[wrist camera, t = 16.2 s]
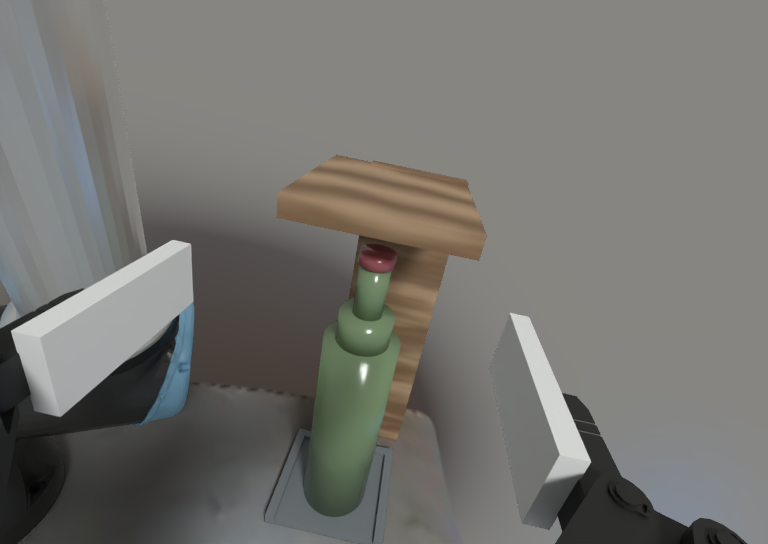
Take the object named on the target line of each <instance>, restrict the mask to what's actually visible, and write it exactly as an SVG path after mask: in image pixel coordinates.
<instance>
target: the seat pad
mask: <svg viewBox="0 0 768 544" xmlns="http://www.w3.org/2000/svg"><path fill="white" fill-rule="evenodd" d="M310 433H311V431H310V430H305V429H301V428H299V431H298V434H297V436H296V439H295V441H294V444H293V446H292V449H291V451H290V454H289V456H288V459H287V461H286V464H285V466H284V469H283V471H282V474H281V476H280V479H279V481H278V484H277V486H276V489H275V491H274V494H273V496H272V499H271V501H270V504H269V506H268V509H267V511H266V514H265V519H264V521H265V522H269V523H273V524H277V525H282V526H286V527H290V528H294V529H299V530H303V531H307V532H311V533H316V534H320V535H324V536H329V537H333V538H337V539H341V540H346V541H350V542H354V543H358V544H383V537H384V528H385V519H386V510H387V501H388V492H389V483H390V474H391V465H392V456H393V449H389V448H384V447H380V446H376V449H375V453H374V457H373V461H372V465H371V469H370V473H369V477H368V481H367V485H366V490H365V494H364V497H363V500H362V502H361V503H360V505H359V506H358V507H357V508H356V509H355V510H354V511H352V512H351V513H349V514H347V515H345V516H341V517H328V516H324V515H322V514H320V513H318V512H316V511H315V510H314V509H313V508H312V507H311V506H310V505H309V504H308V502H307V500H306V498H305V495H304V478H305V471H306V463H307V456H308V448H309V441H310Z"/></svg>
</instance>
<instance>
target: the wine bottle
mask: <svg viewBox="0 0 768 544" xmlns="http://www.w3.org/2000/svg"><path fill="white" fill-rule="evenodd" d="M396 259H397V252H396V251H395V250H393V249H392V248H390V247H387V246H384V245H380V244H365V245H363V246H361V248H360V253H359V259H358V264H359V265H360V267H359V273H358V279H357V285H356V291H355V297H354V298H352V299H349V300H346V301H345V302H343V303H342V304H341V305H340V307H339V313H338V320H336V321H334V322H332V323H331V324H329V325H328V326H327V328H326V329H325V331H324V334H323V343H322V350H321V357H320V365H319V373H318V380H317V388H316V395H315V403H314V410H313V418H312V425H311V433H310V441H309V448H308V456H307V463H306V471H305V478H304V495H305V498H306V500H307V502H308V504H309V505H310V506H311V507H312V508H313V509H314V510H315V511H316V512H318V513H320V514H322V515H324V516H328V517H341V516H345V515H347V514H349V513H351V512H352V511H354V510H355V509H356V508H357V507H358V506H359V505H360V503H361V502H362V500H363V497H364V494H365V490H366V485H367V481H368V477H369V473H370V469H371V465H372V461H373V457H374V453H375V449H376V445H377V441H378V437H379V433H380V428H381V424H382V420H383V416H384V412H385V408H386V404H387V400H388V396H389V392H390V388H391V384H392V380H393V376H394V371H395V367H396V363H397V359H398V355H399V351H400V340H399V338H398V336H397V334H396V333H395V332H394V331H393V326H394V321H395V314H394V312H393V310H392V309H391V308H390V307H389V306H387V305H386V304H385V300H386V296H387V291H388V286H389V281H390V277H391V272H392V271H393V270H394V269H395V264H396Z"/></svg>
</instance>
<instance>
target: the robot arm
mask: <svg viewBox="0 0 768 544" xmlns="http://www.w3.org/2000/svg"><path fill="white" fill-rule="evenodd" d="M191 258H192V257H191V244H189V243H184V242H180V241H175V240H172V241H170V242H169V243H167V244H165V245H163V246H161V247H159V248H158V249H156V250H154V251H153V252H151V253H149V254H147V249H146V243H145V238H144V231H143V225H142V219H141V213H140V208H139V201H138V195H137V189H136V183H135V178H134V171H133V165H132V160H131V154H130V147H129V141H128V135H127V129H126V123H125V117H124V112H123V105H122V99H121V93H120V87H119V81H118V75H117V69H116V63H115V57H114V51H113V44H112V39H111V33H110V27H109V20H108V15H107V8H106V2H105V0H0V280H1V281H2V283H3V285H4V287H5V289H6V291H7V293H8V295H9V297H10V299H11V301H10V303H9V304H8V305H0V544H16V543H17V542H19V541H20V540H21V539H22V538H23V537H25V536H26V535H27V534H28V533H29V532H30V531H31V530H32V529H33V528H34V527H35V526H36V525H37V524H38V523H39V522H40V521H41V520H42V518H43V517H44V516H45V515H46V514H47V512H48V511H49V510H50V508H51V507H52V505H53V504H54V502H55V501H56V499H57V497H58V495H59V493H60V490H61V488H62V485H63V481H64V473H65V471H64V464H63V460H62V457H61V453H60V451H59V448H58V447H57V445H56V444H55V442H54V441H53V440H52V439H51V438H50V437H49V436H52V435H59V434H66V433H73V432H80V431H87V430H94V429H102V428H109V427H116V426H123V425H130V424H134V425H144V424H146V423H147V422H150V421H155V420H160V419H166V418H170V417H173V416H175V415H176V414H178V413H179V412H180V411H181V410H182V409H183V407H184V405H185V403H186V400H187V394H188V388H189V380H190V368H191V367H190V363H191V357H192V350H193V338H194V318H195V317H194V316H195V309H194V304H193V281H192V259H191ZM489 369H490V373H491V378H492V383H493V388H494V393H495V398H496V402H497V407H498V412H499V417H500V421H501V427H502V431H503V436H504V441H505V446H506V451H507V455H508V460H509V465H510V470H511V475H512V479H513V484H514V489H515V494H516V499H517V504H518V508H519V513H520V518H521V523H522V524H527V525H531V526H535V527H539V528H544V529H548V530H549V529H550V528H551V526H552V525H553V523H554V522H555V520H556V518H557V517H558V518H559V522H560V525H561V529H562V534H561V536H560V537H559V539H558V540H557V542H556V543H555V544H747V543H746V542H745V541H744V540H742V539H741V538H740V537H739V536H738V535H737V534H736V533H734V532H733V531H731V530H730V529H728V528H727V527H725V526H724V525H722V524H720V523H718V522H715V521H713V520H710V519H704V518H699V519H698V520H696V521H694V522H693V523H692V524H691V526H690V527H687V526H684V525H683V524H681V523H679V522H677V521H675V520H672V519H670V518H668V517H666V516H664V515H662V514H660V513H658V512H656V511H655V510H654V509H653V506H652V504H651V502H650V501H649V499H648V498H647V497H646V495H645V494H644V493H643V492H642V491H641V490H640V489H639V488H637V487H636V486H635V485H634V484H633V483H631V482H630V481H628V480H626V479H625V478H623V477H621V475H620V473H619V471H618V469H617V467H616V465H615V463H614V461H613V459H612V457H611V454H610V452H609V450H608V448H607V446H606V444H605V442H604V440H603V438H602V437H600V432H599V430H598V428H597V426H595V422H594V420H593V418H592V416H591V414H590V412H589V410H588V409H587V408H586V406H585V405H584V404H583V403H582V402H581V401H580V400H579V399H578V398H577V397H576V396H572V395H568V394H563V393H561V390H560V388H559V386H558V384H557V381H556V379H555V377H554V374H553V372H552V370H551V367H550V365H549V363H548V360H547V358H546V356H545V353H544V351H543V349H542V347H541V344H540V342H539V339H538V337H537V335H536V332H535V330H534V328H533V326H532V323H531V321H530V319H529V317H526V316H521V315H516V314H513V313H510V314H509V316H508V319H507V322H506V324H505V327H504V329H503V332H502V335H501V337H500V340H499V343H498V345H497V348H496V350H495V353H494V355H493V358H492V361H491V363H490V366H489Z"/></svg>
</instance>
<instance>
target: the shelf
mask: <svg viewBox="0 0 768 544" xmlns="http://www.w3.org/2000/svg"><path fill="white" fill-rule="evenodd" d="M277 218H282V219H286V220H290V221H295V222H300V223H305V224H309V225H314V226H318V227H323V228H328V229H333V230H337V231H342V232H347V233H352V234H356V235H359V240H358V246H357V252H356V258H355V264H354V270H353V276H352V283H351V289H350V295H349V299H352V298H354V297H355V291H356V285H357V279H358V273H359V267H360V265H359V264H358V259H359V253H360V248H361V246H363V245H365V244H380V245H384V246H387V247H390V248H392V249H393V250H395V251H396V252H397V259H396V264H395V269H394V270H393V271H392V272H391V277H390V281H389V286H388V291H387V296H386V300H385V304H386V305H387V306H389V307H390V308H391V309H392V310H393V312H394V314H395V321H394V326H393V331H394V332H395V333H396V334H397V336H398V338H399V340H400V351H399V355H398V359H397V363H396V367H395V371H394V376H393V380H392V384H391V388H390V392H389V396H388V400H387V404H386V408H385V412H384V416H383V420H382V424H381V428H380V433H379V436H380V437H384V438H389V439H393V440H397V438H398V435H399V431H400V428H401V424H402V421H403V417H404V413H405V410H406V406H407V403H408V399H409V395H410V392H411V388H412V385H413V381H414V377H415V374H416V370H417V366H418V363H419V360H420V356H421V352H422V348H423V345H424V341H425V338H426V334H427V331H428V327H429V324H430V320H431V316H432V313H433V309H434V306H435V302H436V298H437V295H438V291H439V288H440V284H441V281H442V277H443V273H444V269H445V265H446V263H447V258H448V255H449V254H450V255H455V256H460V257H464V258H469V259H473V260H478V261H479V259H480V256H481V252H482V250H483V246H484V243H485V240H486V237H487V235H486V232H485V230H484V227H483V224H482V222H481V219H480V217H479V214H478V212H477V209H476V206H475V204H474V201H473V198H472V196H471V193H470V191H469V188H468V182H467V180H464V179H459V178H454V177H450V176H445V175H440V174H435V173H430V172H426V171H421V170H416V169H411V168H406V167H401V166H396V165H392V164H387V163H382V162H377V161H373V162H367V161H363V160H358V159H353V158H349V157H344V156H338V155H336V156H334V157H332V158H331V159H329V160H328V161H326V162H325V163H323V164H321V165H320V166H318V167H317V168H315V169H313V170H312V171H310V172H309V173H307V174H305V175H304V176H302V177H301V178H299V179H298V180H296V181H294V182H293V183H291V184H290V185H288V186H287V187H285V188H283V189H282V190H280V191H279V192H278V202H277Z"/></svg>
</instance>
